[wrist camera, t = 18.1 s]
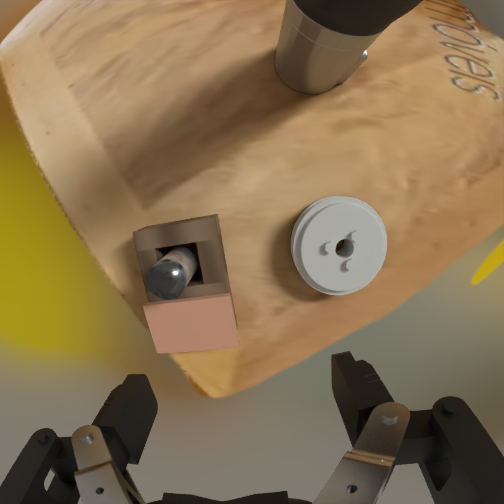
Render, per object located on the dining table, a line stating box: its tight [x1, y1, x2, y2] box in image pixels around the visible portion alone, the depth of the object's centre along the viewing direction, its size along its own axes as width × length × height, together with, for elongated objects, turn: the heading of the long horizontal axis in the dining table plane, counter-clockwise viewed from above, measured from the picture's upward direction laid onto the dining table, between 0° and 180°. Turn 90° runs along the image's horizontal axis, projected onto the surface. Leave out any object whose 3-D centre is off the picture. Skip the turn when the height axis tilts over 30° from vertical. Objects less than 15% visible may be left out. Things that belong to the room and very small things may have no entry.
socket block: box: [133, 214, 237, 326], centre depth 37 cm, size 10×16×5 cm, turn 8°
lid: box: [291, 196, 387, 295], centre depth 36 cm, size 13×13×5 cm
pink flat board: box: [143, 293, 240, 354], centre depth 35 cm, size 11×7×1 cm, turn 98°
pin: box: [147, 242, 200, 300], centre depth 34 cm, size 4×4×11 cm
